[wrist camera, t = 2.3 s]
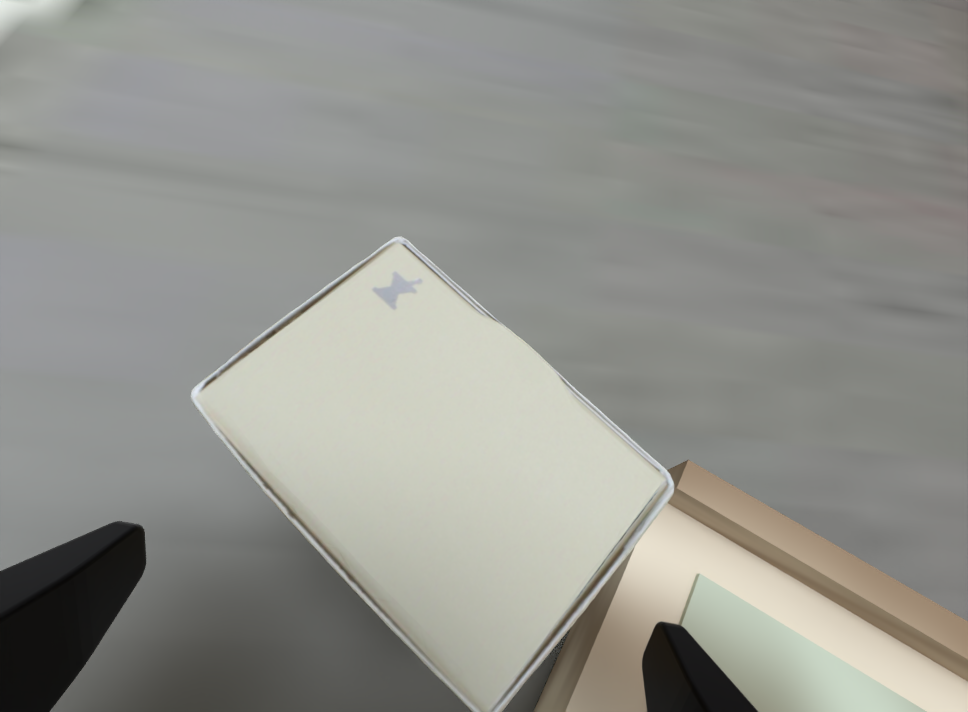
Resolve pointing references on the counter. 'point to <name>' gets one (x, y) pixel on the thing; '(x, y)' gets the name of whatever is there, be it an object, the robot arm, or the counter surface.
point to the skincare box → (437, 467)
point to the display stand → (761, 616)
